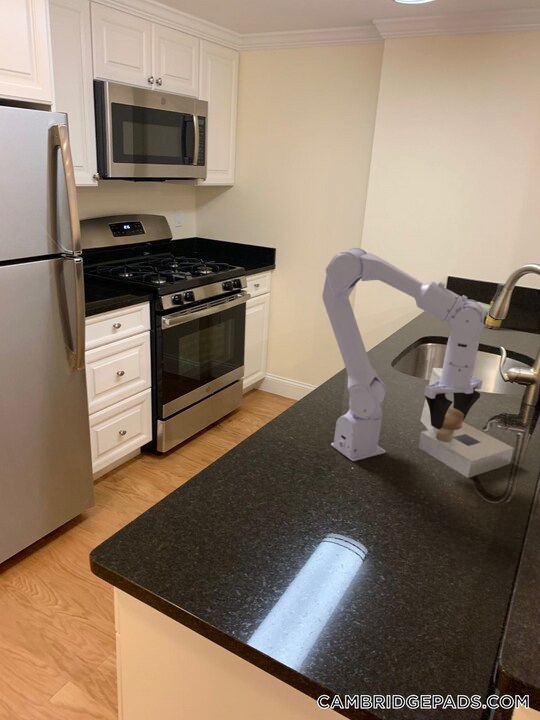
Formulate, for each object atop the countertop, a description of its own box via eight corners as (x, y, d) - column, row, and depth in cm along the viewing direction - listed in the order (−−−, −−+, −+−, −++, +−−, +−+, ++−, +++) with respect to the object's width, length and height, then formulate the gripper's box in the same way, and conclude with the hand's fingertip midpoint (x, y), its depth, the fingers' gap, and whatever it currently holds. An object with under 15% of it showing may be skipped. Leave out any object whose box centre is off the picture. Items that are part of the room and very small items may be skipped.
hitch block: (467, 477, 110) (471, 461, 109) (418, 447, 121) (421, 431, 120) (509, 464, 117) (513, 447, 116) (459, 436, 128) (462, 421, 127)
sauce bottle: (481, 326, 237) (490, 282, 230) (491, 325, 239) (501, 282, 233) (492, 330, 231) (502, 285, 224) (503, 329, 234) (513, 285, 227)
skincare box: (419, 421, 135) (430, 366, 130) (442, 422, 136) (453, 367, 131) (432, 437, 127) (443, 379, 122) (456, 437, 128) (468, 380, 123)
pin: (444, 447, 107) (450, 420, 105) (423, 435, 111) (428, 409, 109) (464, 442, 109) (470, 415, 107) (442, 430, 114) (448, 404, 112)
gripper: (449, 373, 98) (436, 439, 102) (499, 365, 105) (485, 426, 110) (421, 361, 104) (410, 424, 108) (471, 354, 111) (458, 413, 115)
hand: (446, 424), depth 109 cm, fingers closed on pin, 6 cm apart
